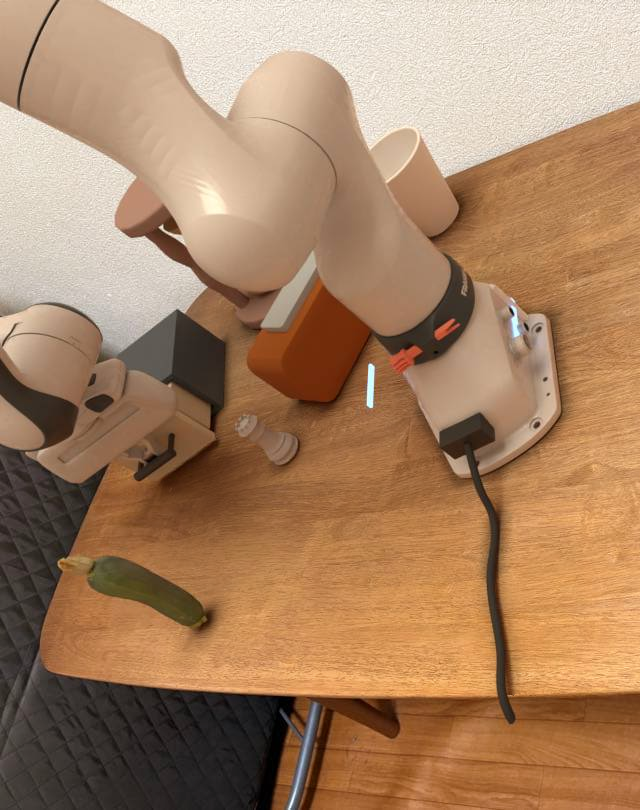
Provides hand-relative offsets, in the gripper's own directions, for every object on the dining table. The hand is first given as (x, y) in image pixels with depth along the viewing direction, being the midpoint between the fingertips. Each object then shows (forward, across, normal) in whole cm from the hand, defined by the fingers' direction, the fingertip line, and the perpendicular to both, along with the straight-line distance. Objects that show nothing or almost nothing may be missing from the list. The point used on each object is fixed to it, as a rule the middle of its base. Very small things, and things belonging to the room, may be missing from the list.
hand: (157, 457), depth 119 cm
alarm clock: (+6, +32, +5) cm, 33 cm away
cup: (+6, +50, +16) cm, 53 cm away
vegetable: (+6, +5, -27) cm, 28 cm away
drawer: (+5, 0, +7) cm, 9 cm away
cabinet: (+6, 0, +17) cm, 18 cm away
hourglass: (+6, +20, +28) cm, 35 cm away
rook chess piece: (+6, +19, -9) cm, 22 cm away
